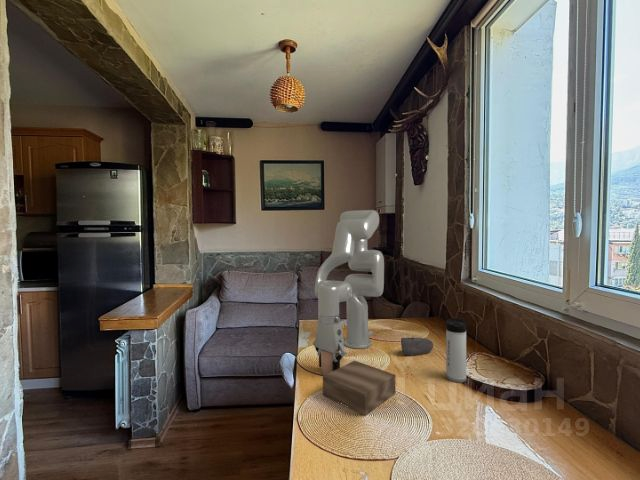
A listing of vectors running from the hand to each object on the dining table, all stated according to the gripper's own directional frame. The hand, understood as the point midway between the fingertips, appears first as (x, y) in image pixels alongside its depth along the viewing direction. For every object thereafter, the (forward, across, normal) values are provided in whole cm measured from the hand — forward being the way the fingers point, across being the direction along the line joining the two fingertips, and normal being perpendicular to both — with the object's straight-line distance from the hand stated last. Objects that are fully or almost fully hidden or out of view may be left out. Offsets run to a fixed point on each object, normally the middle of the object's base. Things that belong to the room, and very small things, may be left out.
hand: (329, 368), depth 112 cm
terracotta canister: (+2, 0, 0) cm, 2 cm away
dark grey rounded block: (+2, -15, -37) cm, 40 cm away
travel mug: (+2, -35, -26) cm, 44 cm away
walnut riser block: (+2, -17, +5) cm, 18 cm away
